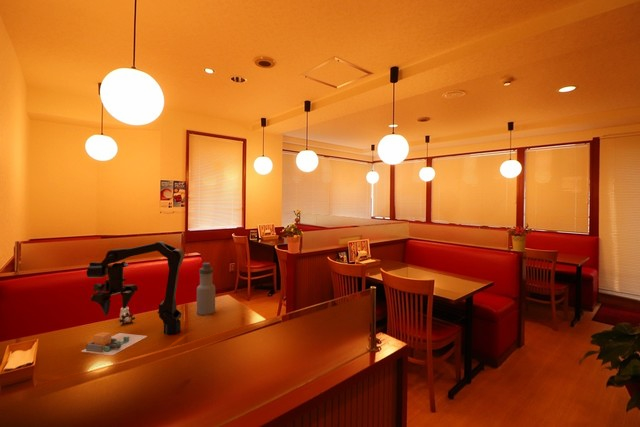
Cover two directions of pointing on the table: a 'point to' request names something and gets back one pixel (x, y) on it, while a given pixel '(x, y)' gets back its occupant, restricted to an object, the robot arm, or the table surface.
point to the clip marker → (123, 341)
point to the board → (120, 337)
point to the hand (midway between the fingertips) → (115, 311)
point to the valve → (126, 316)
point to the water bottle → (206, 291)
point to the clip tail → (107, 348)
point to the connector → (104, 340)
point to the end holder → (96, 346)
